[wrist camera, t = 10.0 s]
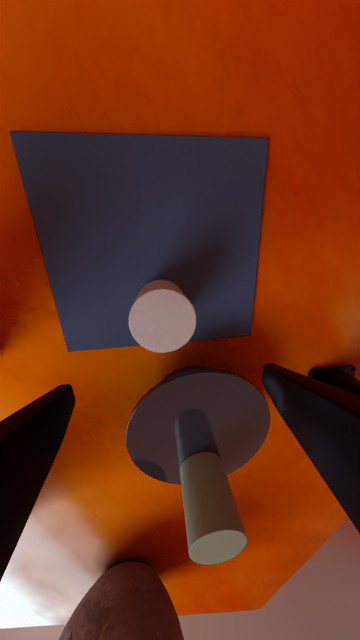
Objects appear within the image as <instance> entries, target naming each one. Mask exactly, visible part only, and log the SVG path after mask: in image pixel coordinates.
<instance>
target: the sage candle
mask: <svg viewBox="0 0 360 640" xmlns="http://www.w3.org/2000/svg"><path fill="white" fill-rule="evenodd" d="M180 479H181V488H182V497H183V506H184V516H185V525H186V534H187V543H188V552H189V557H190V559H191V560H192V561H194V562H195V563H198V564H203V565H212V564H218V563H222V562H225V561H227V560H230V559H232V558H233V557H235V556H236V555H238V554H239V553H240V552H241V551H242V550H243V549H244V548H245V546H246V543H247V538H246V534H245V531H244V528H243V525H242V522H241V519H240V516H239V513H238V510H237V507H236V503H235V500H234V497H233V494H232V491H231V488H230V485H229V482H228V479H227V476H226V473H225V470H224V466H223V463H222V460H221V459H220V457H219V456H218V455H216V454H214V453H211V452H200V453H196V454H193V455H191V456H190V457H188V458H187V459H185V460H184V462H183V463H182V464H181V467H180Z"/></svg>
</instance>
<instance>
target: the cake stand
mask: <svg viewBox="0 0 360 640" xmlns="http://www.w3.org/2000/svg"><path fill="white" fill-rule="evenodd" d="M269 425H270V412H269V408H268V404H267V402H266V400H265V398H264V396H263V395H262V393H261V392H260V391H259V389H258V388H257V387H256V386H255V385H254V384H253V383H252V382H250V381H249V380H247V379H246V378H244V377H242V376H240V375H238V374H236V373H233V372H230V371H225V370H220V369H210V368H207V367H202V366H190V367H185V368H181V369H178V370H176V371H174V372H172V373H170V374H169V375H168V376H166V377H165V378H164V379H163V380H162V381H161V382H160V383H158V384H157V385H156V386H154V387H153V388H151V389H150V390H149V391H148V392H147V393H146V394H145V395H144V396H143V397H142V398H141V399H140V400H139V401H138V403H137V404H136V406H135V407H134V409H133V410H132V413H131V415H130V417H129V420H128V424H127V428H126V447H127V450H128V453H129V455H130V457H131V459H132V461H133V462H134V464H135V465H136V466H137V467H138V468H139V469H140V470H141V471H143V472H144V473H145V474H147V475H148V476H150V477H152V478H154V479H157V480H159V481H163V482H166V483H172V484H181V479H180V467H181V464H182V463H183V462H184V460H185V459H187V458H188V457H190V456H191V455H193V454H196V453H200V452H211V453H214V454H216V455H218V456H219V457H220V459H221V460H222V463H223V466H224V470H225V473H226V475H228V474H230V473H232V472H234V471H235V470H237V469H238V468H240V467H241V466H243V465H244V464H245V463H247V462H248V461H249V460H250V459H251V458H252V457H253V456H254V455H255V454H256V452H257V451H258V450H259V449H260V447H261V446H262V444H263V442H264V440H265V438H266V436H267V433H268V430H269Z"/></svg>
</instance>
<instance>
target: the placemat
mask: <svg viewBox="0 0 360 640" xmlns="http://www.w3.org/2000/svg"><path fill="white" fill-rule="evenodd" d="M10 135H11V139H12V143H13V147H14V150H15V154H16V158H17V162H18V165H19V169H20V173H21V177H22V180H23V184H24V188H25V192H26V195H27V199H28V203H29V207H30V210H31V214H32V218H33V222H34V225H35V229H36V233H37V237H38V241H39V244H40V248H41V252H42V256H43V259H44V263H45V267H46V271H47V274H48V278H49V282H50V286H51V289H52V293H53V297H54V301H55V304H56V308H57V312H58V316H59V319H60V323H61V327H62V331H63V334H64V338H65V342H66V346H67V350H68V352H71V351H82V350H93V349H104V348H116V347H127V346H138V345H140V344H139V343H138V342H137V341H136V340H135V339H134V337H133V336H132V334H131V331H130V328H129V314H130V311H131V308H132V306H133V304H134V302H135V300H136V298H137V296H138V294H139V292H140V291H141V289H142V288H143V287H144V286H145V285H146V284H147V283H149V282H151V281H154V280H167V281H170V282H172V283H174V284H175V285H177V286H178V287H179V288H180V290H181V291H182V292H183V293H184V295H185V296H186V297H187V298H188V300H189V301H190V302H191V304H192V305H193V307H194V310H195V313H196V328H195V331H194V333H193V335H192V337H191V338H190V340H189V341H193V340H204V339H215V338H226V337H237V336H248V335H251V327H252V316H253V305H254V294H255V283H256V272H257V261H258V250H259V239H260V228H261V217H262V206H263V195H264V184H265V173H266V162H267V151H268V140H269V138H249V137H212V136H176V135H139V134H102V133H65V132H29V131H10Z"/></svg>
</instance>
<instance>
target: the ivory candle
mask: <svg viewBox="0 0 360 640" xmlns="http://www.w3.org/2000/svg"><path fill="white" fill-rule="evenodd" d="M129 328H130V331H131V334H132V336H133V337H134V339H135V340H136V341H137V342H138V343H139V344H140V345H141V346H142V347H144V348H146V349H148V350H150V351H153V352H160V353H164V352H171V351H174V350H177V349H179V348H180V347H182V346H183V345H185V344H186V343H187V342H188V341H189V340H190V338H191V337H192V335H193V333H194V331H195V328H196V313H195V310H194V307H193V305H192V304H191V302H190V301H189V300H188V298H187V297H186V296H185V295H184V293H183V292H182V291H181V290H180V288H179V287H178V286H177V285H175V284H174V283H172V282H170V281H167V280H154V281H151V282H149V283H147V284H146V285H145V286H144V287H143V288H142V289H141V291H140V292H139V294H138V296H137V298H136V300H135V302H134V304H133V306H132V308H131V311H130V314H129Z"/></svg>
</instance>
